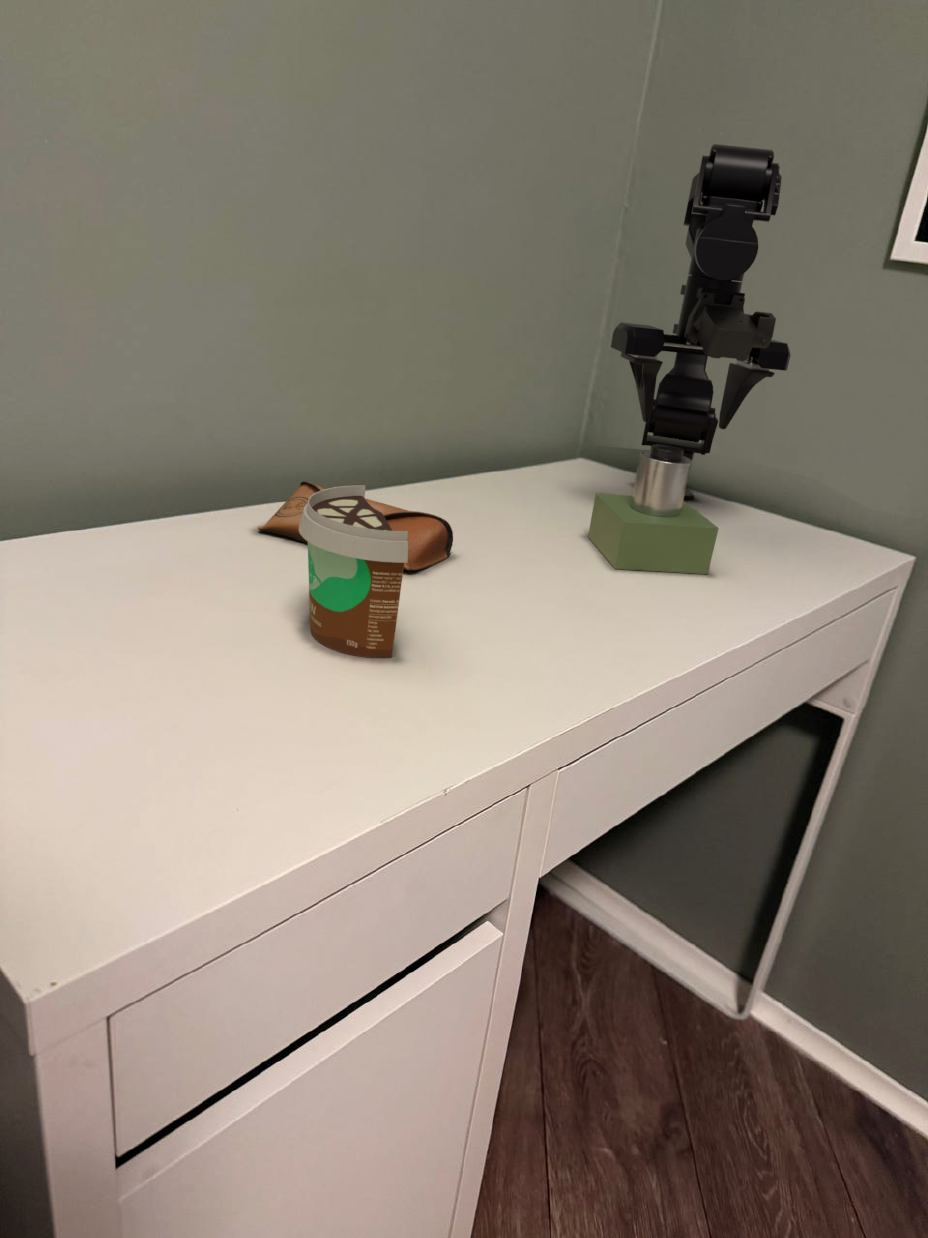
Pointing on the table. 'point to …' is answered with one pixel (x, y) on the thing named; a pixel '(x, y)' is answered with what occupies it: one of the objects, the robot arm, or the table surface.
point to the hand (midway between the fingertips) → (684, 425)
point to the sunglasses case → (424, 530)
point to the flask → (661, 481)
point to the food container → (352, 572)
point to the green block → (651, 537)
